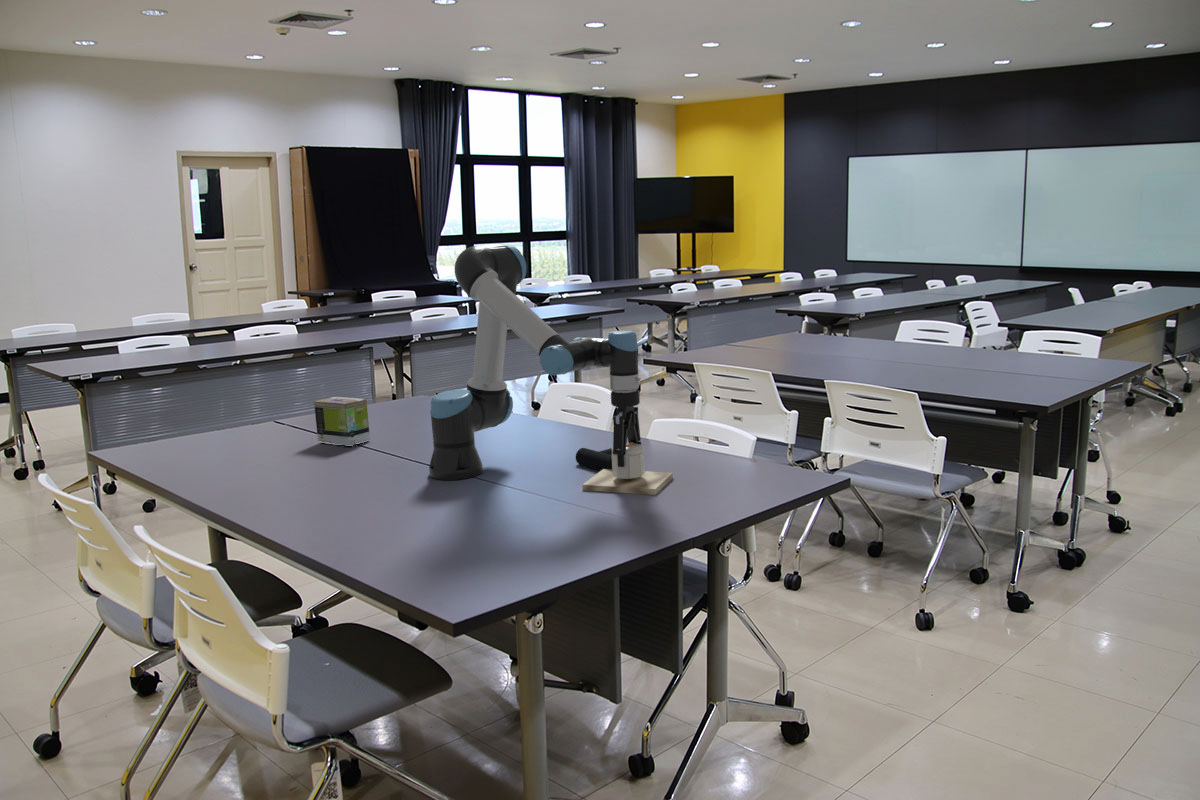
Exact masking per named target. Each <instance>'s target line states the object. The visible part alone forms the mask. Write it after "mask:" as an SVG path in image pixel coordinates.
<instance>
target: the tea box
mask: <svg viewBox="0 0 1200 800" xmlns="http://www.w3.org/2000/svg"><path fill="white" fill-rule="evenodd" d="M367 400H368V399H366V398H359V397H346V396H345V397H344V396H343V397H342V396H332V397H328V398H324V399H323V398H322V399H319V400H314V401H313V404H314V414H315V426H316V435H317V442H318V441H322V442H329V443H335V444H342V445H352V444H356V443H359V442H362V441H366V440H370V441H371V437H370V436H371V435H370V425H369V423H370V422H369V413H368V403H367V402H368V401H367Z"/></svg>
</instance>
